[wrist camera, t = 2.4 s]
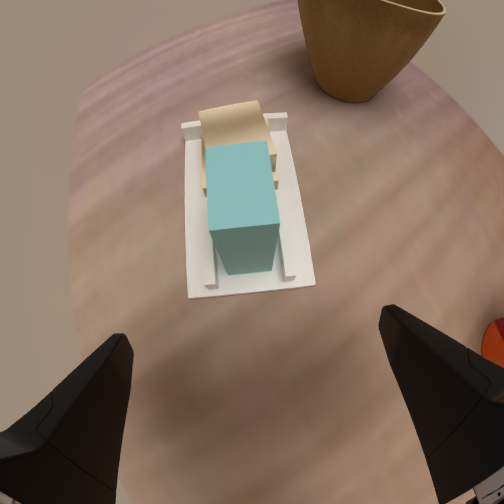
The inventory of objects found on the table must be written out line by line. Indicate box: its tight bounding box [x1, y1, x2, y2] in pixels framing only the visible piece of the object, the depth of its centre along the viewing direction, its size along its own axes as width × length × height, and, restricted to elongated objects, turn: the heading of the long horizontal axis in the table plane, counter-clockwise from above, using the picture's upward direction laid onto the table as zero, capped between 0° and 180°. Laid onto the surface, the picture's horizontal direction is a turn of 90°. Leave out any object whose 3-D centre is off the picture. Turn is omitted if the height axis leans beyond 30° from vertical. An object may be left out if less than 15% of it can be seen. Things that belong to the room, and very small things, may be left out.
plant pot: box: [298, 0, 446, 102], centre depth 23 cm, size 15×15×16 cm
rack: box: [181, 112, 316, 299], centre depth 24 cm, size 16×10×3 cm, turn 6°
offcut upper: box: [199, 100, 277, 172], centre depth 22 cm, size 6×5×2 cm
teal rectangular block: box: [205, 141, 280, 275], centre depth 19 cm, size 5×3×10 cm
